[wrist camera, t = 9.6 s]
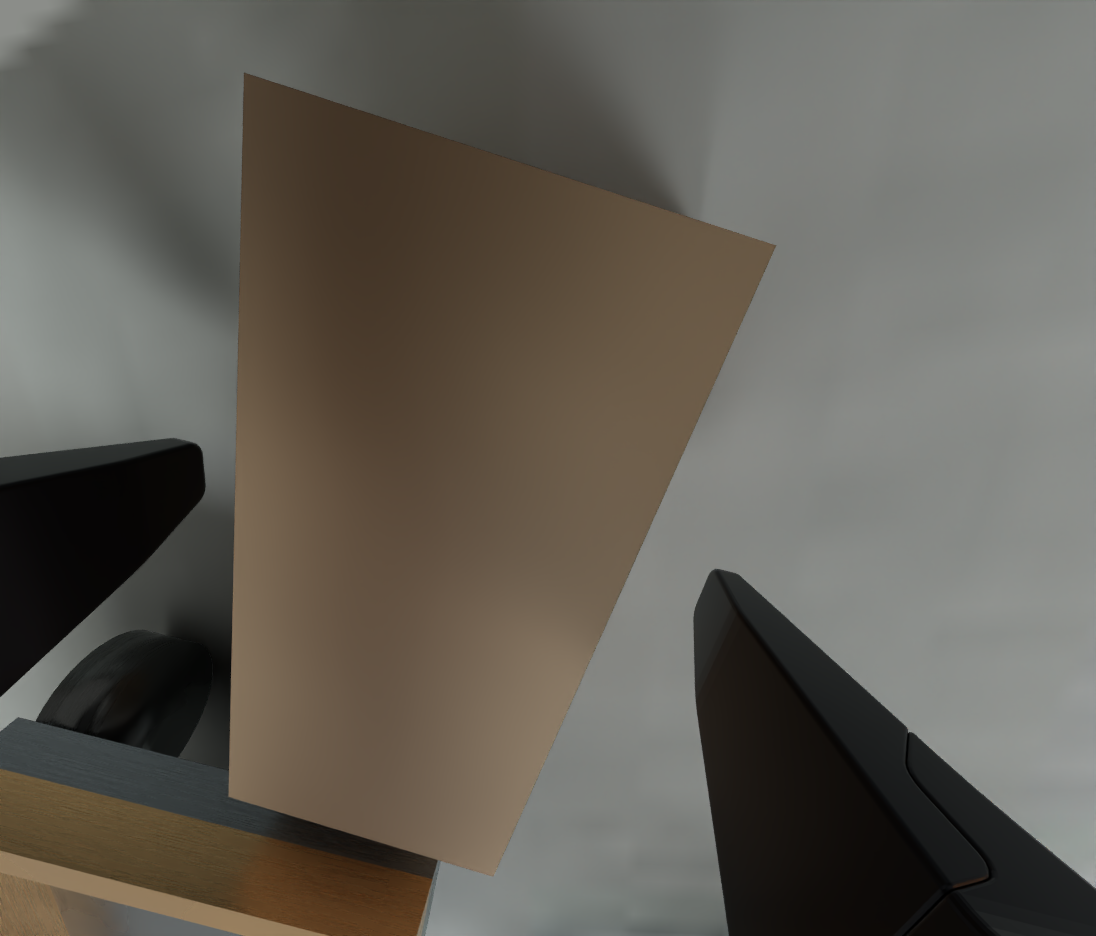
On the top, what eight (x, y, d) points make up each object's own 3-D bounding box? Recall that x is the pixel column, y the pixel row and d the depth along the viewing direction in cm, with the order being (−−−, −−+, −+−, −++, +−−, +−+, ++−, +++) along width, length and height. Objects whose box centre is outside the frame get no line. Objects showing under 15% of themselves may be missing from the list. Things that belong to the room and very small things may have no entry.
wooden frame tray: (487, 680, 14) (413, 943, 9) (431, 936, 20) (368, 1180, 15) (147, 596, 14) (-121, 805, 9) (193, 874, 20) (49, 1095, 15)
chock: (696, 238, 9) (775, 245, 5) (532, 667, 14) (493, 877, 9) (427, 151, 9) (243, 73, 5) (354, 612, 14) (228, 796, 9)
